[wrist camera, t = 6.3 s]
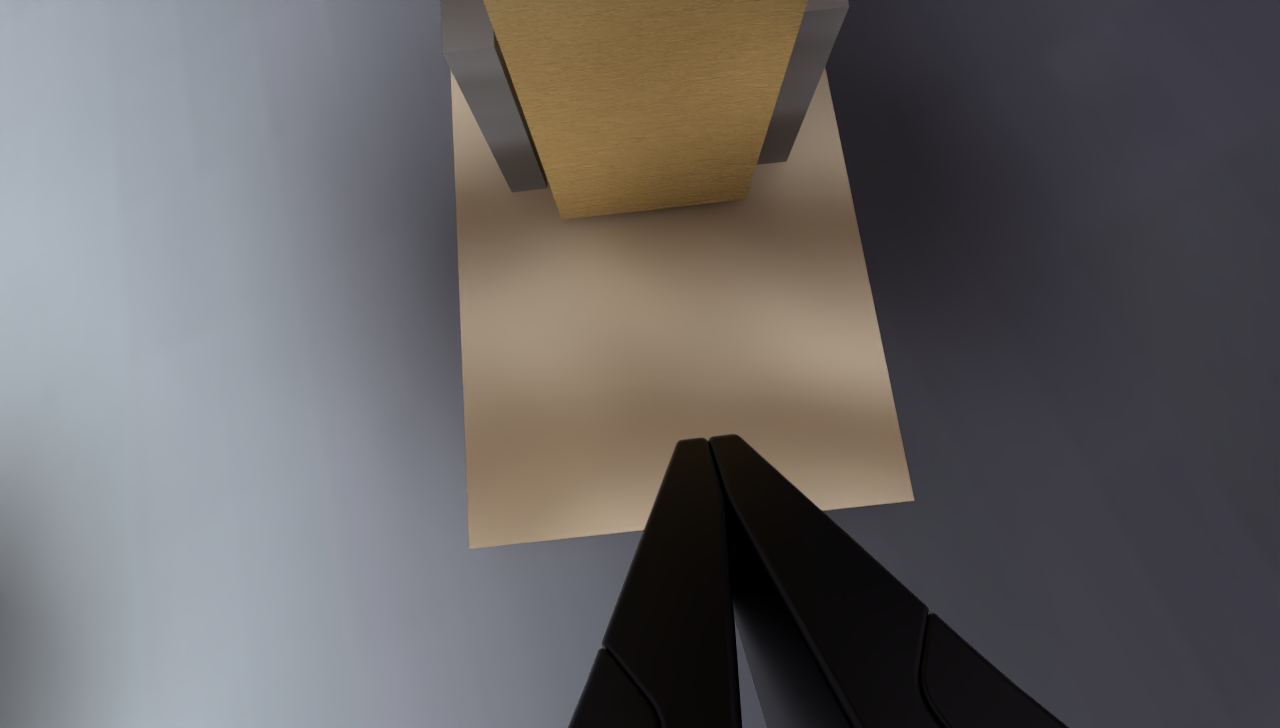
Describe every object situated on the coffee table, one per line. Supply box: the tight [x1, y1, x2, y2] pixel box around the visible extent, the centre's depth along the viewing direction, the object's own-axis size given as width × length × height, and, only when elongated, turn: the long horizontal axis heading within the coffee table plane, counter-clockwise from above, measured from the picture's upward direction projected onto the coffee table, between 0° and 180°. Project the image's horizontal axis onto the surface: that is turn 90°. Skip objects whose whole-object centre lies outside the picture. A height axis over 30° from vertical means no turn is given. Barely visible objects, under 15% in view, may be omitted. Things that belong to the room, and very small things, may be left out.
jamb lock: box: [440, 0, 914, 549], centre depth 12 cm, size 16×11×9 cm, turn 6°
